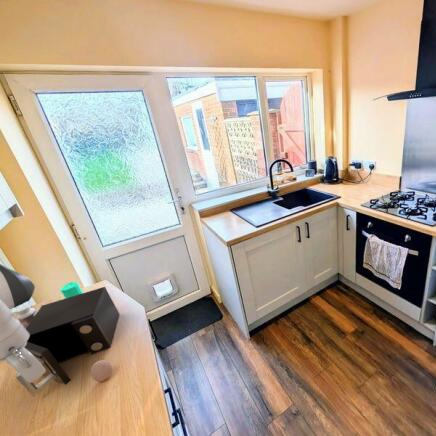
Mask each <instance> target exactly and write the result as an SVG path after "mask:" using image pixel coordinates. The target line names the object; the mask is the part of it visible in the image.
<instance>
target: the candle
mask: <svg viewBox="0 0 436 436" xmlns="http://www.w3.org/2000/svg"><path fill="white" fill-rule="evenodd" d="M60 292H61V294H62V295H63V297H64V299H66V298H69V297H72V296H76V295H79V294H82V293H84V291H83V289H82V288H81V287H80V284H79V283H78V281H71V282H68V283H66V284H64V285H63V286H62V287H61V288H60Z"/></svg>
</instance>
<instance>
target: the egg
mask: <svg viewBox="0 0 436 436" xmlns="http://www.w3.org/2000/svg"><path fill="white" fill-rule="evenodd" d="M112 373H113V365H112V363H111V362H109V361H108V360H105V359H101V360H98V361H96V362H94V364H93V365H92V366H91V369H90V376H91V378H92V379H93V381H96V382H103V381H106V380H108V379H109V377H110V376H111V375H112Z"/></svg>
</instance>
